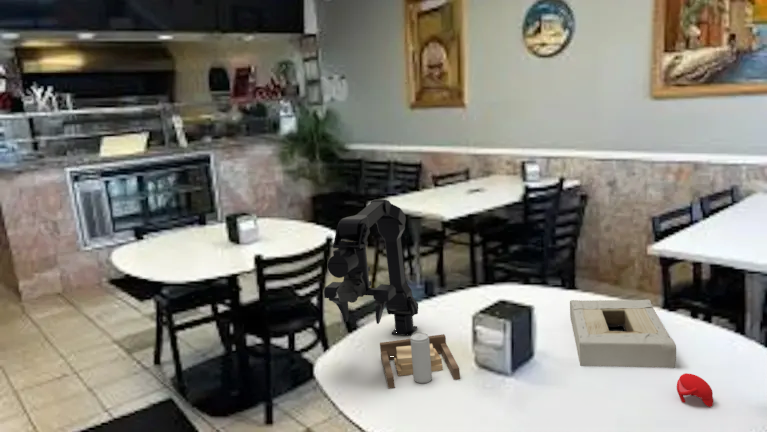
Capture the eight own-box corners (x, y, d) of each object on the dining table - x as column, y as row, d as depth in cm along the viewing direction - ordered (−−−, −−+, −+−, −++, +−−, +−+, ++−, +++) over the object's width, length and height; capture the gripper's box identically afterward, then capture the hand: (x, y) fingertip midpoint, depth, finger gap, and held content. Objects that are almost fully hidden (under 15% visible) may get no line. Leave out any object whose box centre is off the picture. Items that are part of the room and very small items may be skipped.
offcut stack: (394, 362, 165) (392, 347, 164) (436, 356, 166) (435, 341, 165) (398, 376, 157) (396, 360, 156) (442, 370, 158) (441, 354, 157)
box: (678, 370, 148) (649, 320, 178) (678, 342, 146) (649, 296, 177) (580, 370, 153) (569, 321, 184) (579, 342, 152) (568, 298, 182)
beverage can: (410, 382, 153) (407, 339, 151) (418, 374, 157) (414, 331, 155) (427, 385, 151) (424, 341, 148) (435, 376, 155) (431, 333, 152)
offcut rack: (381, 359, 168) (379, 342, 167) (445, 350, 170) (444, 334, 169) (388, 388, 151) (386, 370, 150) (460, 378, 153) (458, 360, 152)
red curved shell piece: (667, 387, 133) (689, 383, 128) (676, 370, 137) (698, 365, 132) (691, 415, 133) (714, 412, 128) (700, 396, 136) (723, 393, 131)
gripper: (310, 273, 151) (316, 331, 154) (377, 276, 143) (382, 337, 147) (330, 261, 161) (336, 315, 164) (394, 263, 153) (399, 320, 157)
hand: (362, 322), depth 157 cm, fingers open, 9 cm apart
